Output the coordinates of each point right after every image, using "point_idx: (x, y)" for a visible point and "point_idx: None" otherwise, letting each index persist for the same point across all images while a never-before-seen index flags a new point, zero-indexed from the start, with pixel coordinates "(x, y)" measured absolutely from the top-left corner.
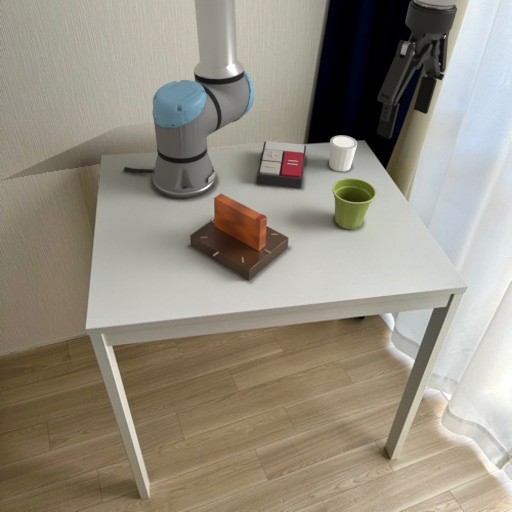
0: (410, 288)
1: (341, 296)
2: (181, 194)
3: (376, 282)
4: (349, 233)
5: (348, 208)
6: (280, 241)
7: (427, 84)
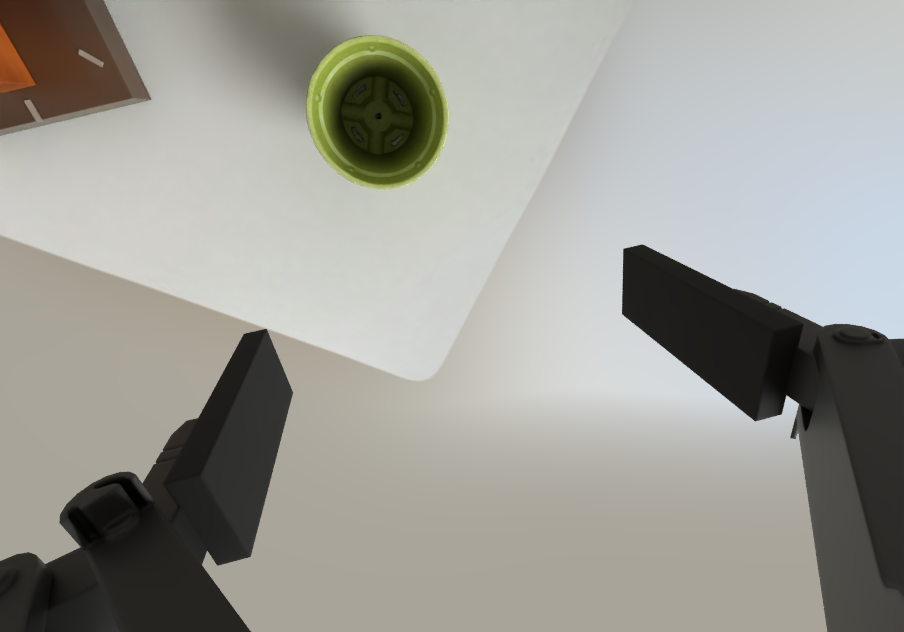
0: (340, 350)
1: (194, 300)
2: None
3: (290, 308)
4: None
5: (334, 147)
6: (97, 97)
7: (733, 359)
